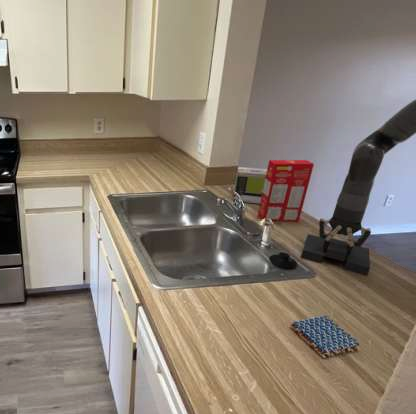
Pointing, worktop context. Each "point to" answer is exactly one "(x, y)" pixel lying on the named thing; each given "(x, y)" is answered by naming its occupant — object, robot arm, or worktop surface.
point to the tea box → (250, 184)
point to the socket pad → (353, 262)
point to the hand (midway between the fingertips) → (335, 252)
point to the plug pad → (337, 249)
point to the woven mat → (324, 336)
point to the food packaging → (285, 190)
